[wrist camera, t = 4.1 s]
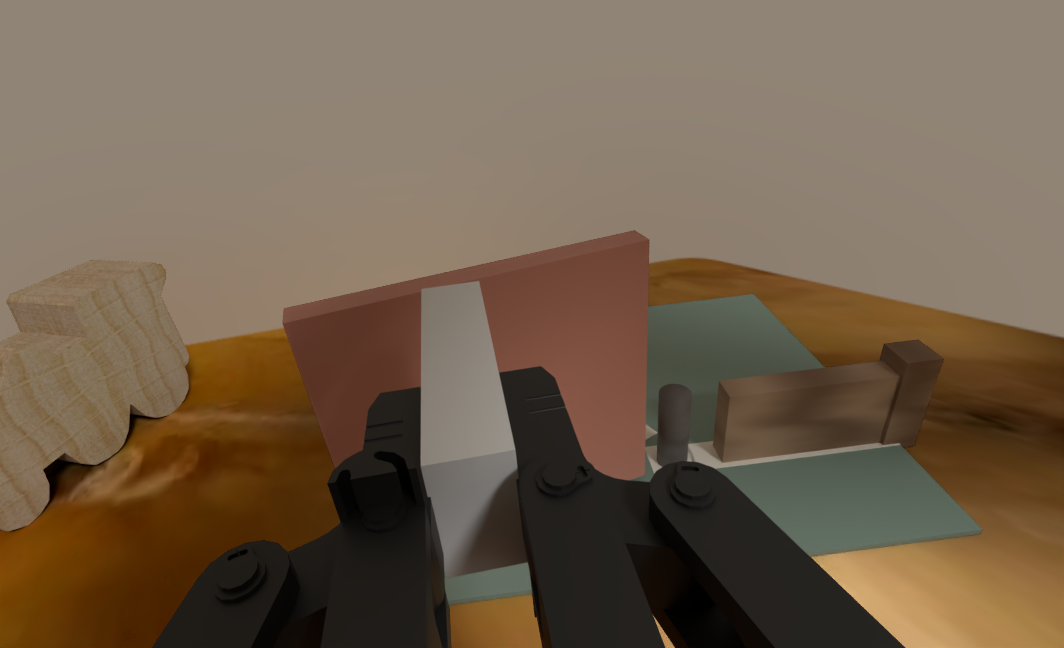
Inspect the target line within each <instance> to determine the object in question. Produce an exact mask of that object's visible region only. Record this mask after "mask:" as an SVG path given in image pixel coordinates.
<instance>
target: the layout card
mask: <svg viewBox="0 0 1064 648" xmlns="http://www.w3.org/2000/svg"><path fill="white" fill-rule="evenodd" d="M818 368H825V367H824V366H823V365H822V364H821V363H820V362H819V361H818V360H817V359H816V358H815V357H814V356H813V355H812V354H811V353H810V352H809V351H808V350H807V349H806V348H805V346H804V345H803V344H802V343H801V342H800V341H799V340H798V339H797V338H796V337H795V336H794V335H793V334H792V333H791V332H790V331H789V330H788V329H787V328H786V327H785V326H784V325H783V324H782V323H781V322H780V321H779V320H778V319H777V318H776V317H775V316H774V315H773V314H772V313H771V312H770V311H769V310H768V308H767V307H766V306H765V305H764V304H763V303H762V302H761V301H760V300H759V299H758V298H757V297H756V296H755V295H754V294H751V295H742V296H734V297H726V298H717V299H709V300H700V301H692V302H683V303H675V304H667V305H658V306H650V307H648V334H647V385H646V436H645V475H643V476H640V477H638V478H635V479H632V480H631V481H644V482H650V480H651V479H652V477H653V475H654V474H655V472H656V471H657V470H659V469H660V468H662V467H661V466H660V465H659V464H658V462H657V433H658V403H659V390H660V388H661V387H663V386H665V385H667V384H680V385H683V386H686V387H687V388H689V389H690V390H691V392H692V401H691V415H690V429H689V444H688V458H687V461H689V462H699V463H702V464H705V465H707V466H710V467H713V468H715V469H716V470H717V471H719V472H720V473H722V474H723V475H725V476H726V477H727V478H728V479H729V480H730V481H731V482H732V483H733V484H734V485H736V486H737V487H738V488H739V489H740V490H741V491H742V492H743V493H744V494H745V495H746V496H747V497H748V498H749V499H750V500H751V501H752V502H753V503H754V504H755V505H756V506H758V507H759V508H760V509H761V510H762V511H763V512H764V513H765V514H766V515H767V516H768V517H769V518H770V519H771V520H772V521H773V522H774V523H775V524H776V525H777V526H778V527H779V528H781V529H782V530H783V531H784V532H785V533H786V534H787V535H788V536H789V537H790V538H791V539H792V540H793V541H794V542H795V543H796V544H797V545H798V546H799V547H800V548H801V549H802V550H804V551H805V552H806V553H807V554H808V555H809V556H810V557H812V556H819V555H827V554H834V553H842V552H849V551H857V550H864V549H871V548H879V547H886V546H894V545H901V544H909V543H916V542H924V541H931V540H939V539H946V538H954V537H961V536H969V535H976V534H981V532H982V530H983V529H982V528H981V527H980V526H979V525H978V524H977V523H976V522H975V521H974V520H973V519H972V518H971V517H970V516H969V515H968V514H967V513H966V512H965V511H964V510H963V509H962V508H961V507H960V506H959V505H958V504H957V503H956V502H955V500H954V499H953V498H952V497H951V496H950V495H949V494H948V493H947V492H946V491H945V490H944V489H943V488H942V487H941V486H940V485H939V484H938V483H937V482H936V481H935V480H934V479H933V478H932V477H931V476H930V475H929V474H928V473H927V472H926V471H925V470H924V469H923V468H922V467H921V466H920V465H919V464H918V463H917V461H916V460H915V459H914V458H913V457H912V456H911V455H910V454H909V453H908V452H907V451H906V450H905V449H904V448H903V447H902V446H901V444H900V443H897V444H889V445H882V444H881V443H874V444H866V445H859V446H851V447H843V448H835V449H827V450H819V451H812V452H804V453H796V454H788V455H780V456H773V457H765V458H757V459H749V460H741V461H733V462H726V463H722V461H721V459H720V458H719V456H718V454H717V452H716V450H715V448H714V446H713V436H714V426H715V416H716V406H717V396H718V386H719V381H721V380H729V379H737V378H745V377H753V376H761V375H769V374H777V373H786V372H794V371H802V370H810V369H818ZM444 575H445V591H446V595H447V600H448V604H449V605H453V604H460V603H468V602H475V601H483V600H490V599H498V598H505V597H512V596H520V595H527V594H532V588H531V579H530V571H529V566H528V562H527V563H522V564H517V565H512V566H507V567H502V568H497V569H492V570H487V571H482V572H477V573H472V574H467V575H462V576H457V577H452V578H446V574H445V569H444Z"/></svg>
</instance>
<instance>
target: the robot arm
mask: <svg viewBox="0 0 1064 648" xmlns="http://www.w3.org/2000/svg"><path fill="white" fill-rule="evenodd" d="M327 484H328V487H329V490H330V493H331V495H332V498H333V501H334V504H335V507H336V510H337V513H338V515H339V518H340V521H341V523H340V524H339V525H338V526H336V527H335V528H334V529H333V530H331V531H330V532H329V533H327V534H325V535H323V536H322V537H320V538H318V539H316V540H314V541H312V542H310V543H307V544H305V545H303V546H301V547H298V548H296V549H294V550H292V551H289V552H287V551H286V550H285V549H284V548H283V547H282V546H280V545H279V544H278V543H275V542H270V541H265V540H262V541H256V542H249V543H245V544H243V545H240V546H238V547H236V548H233V549H231V550H229V551H227V552H226V553H224V554H223V555H221V556H220V557H219V558H217V559H216V560H215V561H213V562H212V563H211V564H210V565H209V566H208V567H207V568H206V569H205V571H204V572H203V573H202V574H201V575H200V576H199V577H198V579H197V580H196V582H195V583H194V585H193V586H192V588H191V589H190V591H189V592H188V594H187V595H186V597H185V599H184V600H183V602H182V603H181V605H180V606H179V608H178V609H177V611H176V612H175V614H174V615H173V617H172V618H171V620H170V621H169V623H168V624H167V626H166V627H165V629H164V630H163V632H162V633H161V635H160V637H159V638H158V640H157V641H156V643H155V644H154V646H153V647H152V648H451V630H450V609H449V604H448V600H447V595H446V591H445V575H444V569H445V574H446V578H452V577H457V576H462V575H467V574H472V573H477V572H482V571H487V570H492V569H497V568H502V567H507V566H512V565H517V564H522V563H527V562H528V566H529V571H530V579H531V588H532V597H533V605H534V614H535V617H537V621H538V626H539V632H540V637H541V642H542V648H665V646H664V643H663V641H662V638H661V635H660V633H659V630H658V628H657V625H656V622H655V620H654V617H655V618H656V620H657V621H658V623H659V624H660V626H661V627H662V629H663V630H664V632H665V633H666V635H667V636H668V638H669V639H670V641H671V642H672V644H673V645H674V647H675V648H905V647H904V646H903V645H902V644H901V643H900V642H899V641H898V640H897V639H896V638H895V637H894V636H892V635H891V634H890V633H889V632H888V631H887V630H886V629H885V628H884V627H883V626H882V625H881V624H880V623H879V622H878V621H877V620H876V619H875V618H874V617H873V616H872V615H870V614H869V613H868V612H867V611H866V610H865V609H864V608H863V607H862V606H861V605H860V604H859V603H858V602H857V601H856V600H855V599H854V598H853V597H852V596H851V595H850V594H849V593H847V592H846V591H845V590H844V589H843V588H842V587H841V586H840V585H839V584H838V583H837V582H836V581H835V580H834V579H833V578H832V577H831V576H830V575H829V574H828V573H827V572H826V571H824V570H823V569H822V568H821V567H820V566H819V565H818V564H817V563H816V562H815V561H814V560H813V559H812V558H811V557H810V556H809V555H808V554H807V553H806V552H805V551H804V550H802V549H801V548H800V547H799V546H798V545H797V544H796V543H795V542H794V541H793V540H792V539H791V538H790V537H789V536H788V535H787V534H786V533H785V532H784V531H783V530H782V529H781V528H779V527H778V526H777V525H776V524H775V523H774V522H773V521H772V520H771V519H770V518H769V517H768V516H767V515H766V514H765V513H764V512H763V511H762V510H761V509H760V508H759V507H758V506H756V505H755V504H754V503H753V502H752V501H751V500H750V499H749V498H748V497H747V496H746V495H745V494H744V493H743V492H742V491H741V490H740V489H739V488H738V487H737V486H736V485H734V484H733V483H732V482H731V481H730V480H729V479H728V478H727V477H726V476H725V475H723V474H722V473H720V472H719V471H717V470H716V469H715V468H713V467H710V466H707V465H705V464H702V463H699V462H689V461H679V462H674V463H670V464H666V465H665V466H663V467H662V468H660V469H659V470H657V471H656V472H655V474H654V475H653V477H652V479H651V480H650V482H644V481H631V480H623V479H617V478H613V477H610V476H608V475H605V474H603V473H601V472H599V471H598V470H596V469H595V468H594V466H593V465H592V464H591V463H590V462H588V461H587V460H586V458H585V456H584V454H583V452H582V449H581V447H580V444H579V441H578V439H577V436H576V433H575V430H574V428H573V425H572V422H571V420H570V417H569V414H568V412H567V409H566V408H565V403H564V401H563V398H562V396H561V393H560V390H559V387H558V384H557V382H556V379H555V377H554V376H552V375H551V374H550V373H549V372H548V371H546V370H545V369H544V368H543V367H542V366H538V367H531V368H525V369H519V370H512V371H506V372H500V373H499V371H498V367H497V362H496V357H495V353H494V348H493V343H492V339H491V334H490V329H489V325H488V320H487V316H486V311H485V306H484V302H483V297H482V292H481V288H480V283H479V281H475V282H468V283H461V284H453V285H446V286H439V287H432V288H424V289H421V387H415V388H409V389H402V390H396V391H390V392H383V393H380V394H379V395H378V397H377V398H376V399H375V401H374V402H373V404H372V405H371V406H370V408H369V409H368V415H367V422H366V430H365V437H364V444H363V450H362V451H359V452H357V453H355V454H354V455H352V456H350V457H348V458H347V459H345V460H344V461H343V462H342V463H341V464H340V465H339V466H338V467H337V468H336V469H335V470H334V471H333V472H332V474H331V477H330V479H329V481H328V483H327ZM653 615H654V617H653Z"/></svg>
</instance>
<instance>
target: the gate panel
mask: <svg viewBox="0 0 1064 648" xmlns="http://www.w3.org/2000/svg"><path fill="white" fill-rule="evenodd" d="M475 281H479V283H480V288H481V292H482V297H483V302H484V306H485V311H486V316H487V320H488V325H489V329H490V334H491V339H492V343H493V348H494V353H495V357H496V362H497V367H498V371H499V373H500V372H506V371H512V370H519V369H525V368H531V367H538V366H542V367H543V368H544V369H545V370H546V371H548V372H549V373H550V374H551V375H552V376H554V377H555V379H556V382H557V384H558V387H559V390H560V393H561V396H562V398H563V401H564V403H565V408H566V409H567V412H568V414H569V417H570V420H571V422H572V425H573V428H574V430H575V433H576V436H577V439H578V441H579V444H580V447H581V449H582V452H583V454H584V456H585V458H586V460H587V461H588V462H590V463H591V464H592V465H593V466H594V468H595V469H596V470H598V471H599V472H601V473H603V474H605V475H608V476H610V477H613V478H617V479H623V480H632V479H635V478H638V477H640V476H643V475H645V436H646V385H647V334H648V283H649V239H648V238H646V237H644V236H643V235H641V234H640V233H638V232H636V231H635V230H634V231H630V232H625V233H621V234H616V235H612V236H608V237H603V238H598V239H594V240H589V241H585V242H580V243H576V244H571V245H567V246H562V247H558V248H554V249H549V250H545V251H540V252H535V253H531V254H526V255H522V256H517V257H513V258H509V259H504V260H500V261H495V262H490V263H486V264H481V265H477V266H473V267H468V268H464V269H459V270H454V271H450V272H445V273H442V274H436V275H432V276H428V277H423V278H418V279H414V280H410V281H405V282H401V283H396V284H392V285H387V286H383V287H378V288H374V289H369V290H365V291H360V292H356V293H351V294H347V295H342V296H338V297H333V298H329V299H324V300H320V301H315V302H311V303H306V304H302V305H297V306H293V307H289V308H284V313H283V326H284V329H285V331H286V334H287V337H288V340H289V343H290V345H291V348H292V351H293V354H294V356H295V359H296V362H297V365H298V367H299V370H300V373H301V376H302V379H303V381H304V384H305V387H306V390H307V392H308V395H309V398H310V401H311V403H312V406H313V409H314V412H315V415H316V417H317V420H318V423H319V426H320V428H321V431H322V434H323V437H324V439H325V442H326V445H327V448H328V451H329V453H330V456H331V459H332V462H333V464H334V467H335V469H336V468H337V467H338V466H339V465H340V464H341V463H342V462H343V461H344V460H345V459H347V458H348V457H350V456H352V455H354V454H355V453H357V452H359V451H362V450H363V444H364V437H365V430H366V422H367V415H368V409H369V408H370V406H371V405H372V404H373V402H374V401H375V399H376V398H377V397H378V395H379V394H380V393H383V392H390V391H396V390H402V389H409V388H415V387H421V289H424V288H432V287H439V286H446V285H453V284H461V283H468V282H475Z"/></svg>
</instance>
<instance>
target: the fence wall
mask: <svg viewBox="0 0 1064 648" xmlns="http://www.w3.org/2000/svg"><path fill="white" fill-rule="evenodd" d="M943 360H944V359H943V358H942V357H941V356H939V355H938V354H937V353H935V352H934V351H933V350H931V349H930V348H929V347H927V346H926V345H925V344H923V343H922V342H921V341H919V340H911V341H903V342H895V343H887V344H884V346H883V350H882V353H881V357H880V361H875V362H867V363H859V364H850V365H842V366H834V367H826V368H818V369H810V370H802V371H794V372H786V373H777V374H769V375H761V376H753V377H745V378H737V379H729V380H721V381H719V386H718V396H717V406H716V416H715V426H714V436H713V446H714V448H715V450H716V452H717V454H718V456H719V458H720V459H721V461H722V463H726V462H733V461H741V460H749V459H757V458H765V457H773V456H780V455H788V454H796V453H804V452H812V451H819V450H827V449H835V448H843V447H851V446H859V445H866V444H874V443H881V444H882V445H889V444H897V443H900V444H901V446H902V447H909V446H914V445H915V442H916V439H917V436H918V433H919V430H920V427H921V424H922V421H923V419H924V416H925V413H926V410H927V407H928V404H929V401H930V398H931V395H932V392H933V389H934V386H935V383H936V380H937V378H938V375H939V372H940V369H941V366H942V363H943ZM691 401H692V392H691V390H690V389H689V388H687V387H686V386H683V385H680V384H667V385H665V386H663V387H661V388H660V390H659V403H658V433H657V462H658V464H659V465H660V466H661V467H663V466H665V465H666V464H670V463H674V462H679V461H687V458H688V444H689V429H690V415H691Z"/></svg>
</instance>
